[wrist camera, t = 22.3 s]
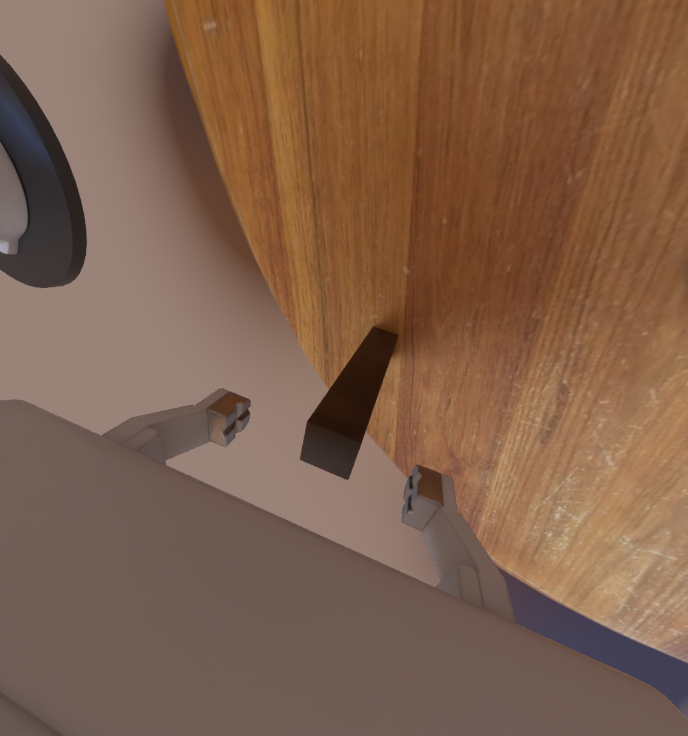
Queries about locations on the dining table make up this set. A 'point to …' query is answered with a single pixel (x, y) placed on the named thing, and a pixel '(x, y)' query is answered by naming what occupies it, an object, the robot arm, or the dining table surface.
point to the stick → (348, 407)
